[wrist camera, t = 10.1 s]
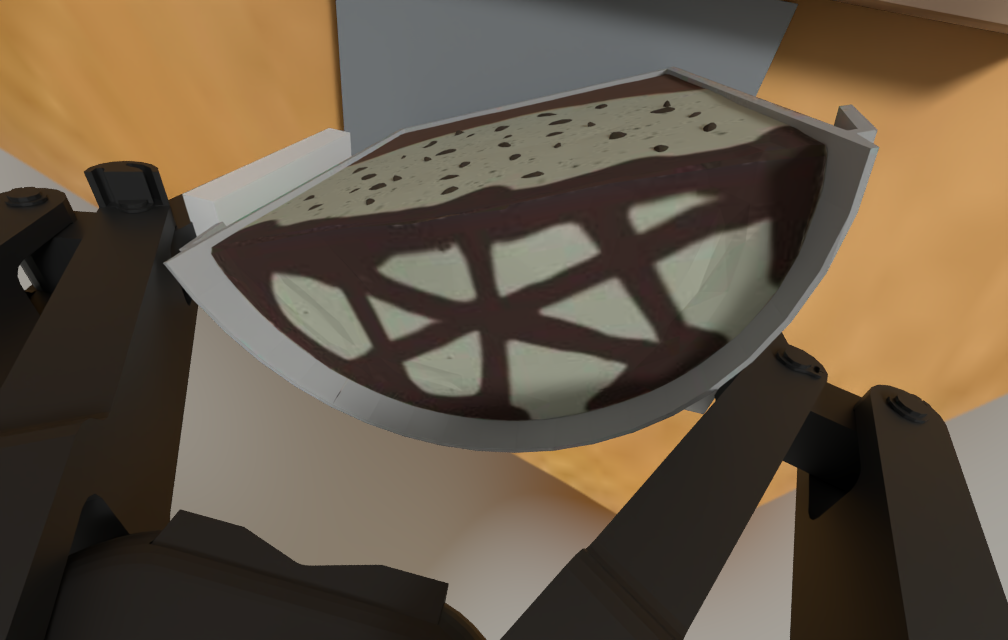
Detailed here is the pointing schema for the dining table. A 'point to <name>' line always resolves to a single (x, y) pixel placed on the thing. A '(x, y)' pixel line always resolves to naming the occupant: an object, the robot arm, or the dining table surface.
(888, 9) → the wooden frame
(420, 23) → the mat
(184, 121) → the dining table surface
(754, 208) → the food container
